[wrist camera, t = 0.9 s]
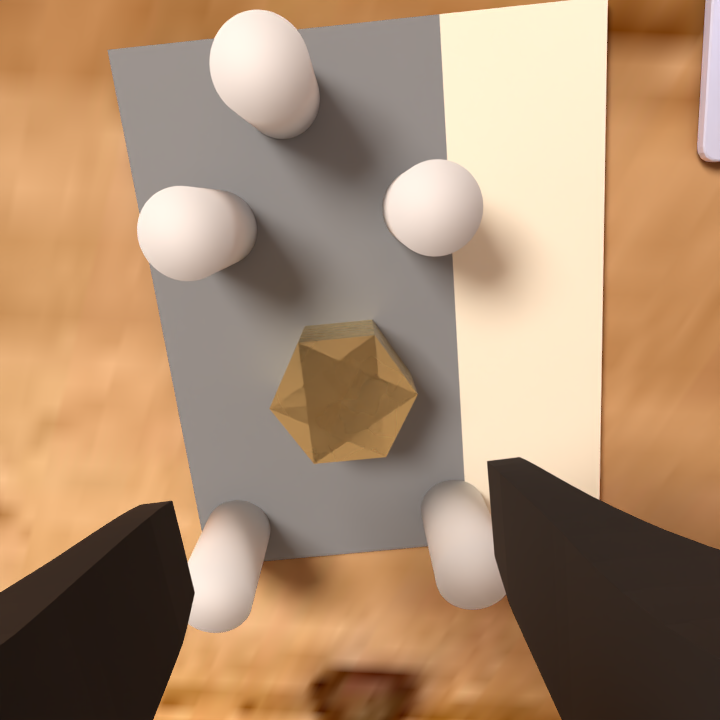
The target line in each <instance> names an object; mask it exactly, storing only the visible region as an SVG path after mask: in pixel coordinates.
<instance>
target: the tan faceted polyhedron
mask: <svg viewBox="0 0 720 720" xmlns="http://www.w3.org/2000/svg"><path fill="white" fill-rule="evenodd" d="M417 395H418V394H417V391H416V388H415V385H414V382H413V379H412V376H411V373H410V371H409V370H408V368H407V367H406V366H405V364H404V363H403V361H402V360H401V359H400V357H399V356H398V355H397V353H396V352H395V350H394V349H393V348H392V346H391V345H390V343H389V342H388V341H387V339H386V338H385V337H384V335H383V334H382V332H381V331H380V330H379V328H378V327H377V326H376V324H375V323H374V321H373V320H362V321H352V322H342V323H332V324H322V325H312V326H305V327H304V329H303V332H302V334H301V336H300V338H299V341H298V343H297V345H296V348H295V350H294V352H293V355H292V357H291V359H290V361H289V364H288V366H287V368H286V371H285V373H284V375H283V377H282V380H281V382H280V384H279V387H278V389H277V392H276V394H275V396H274V399H273V401H272V404H271V406H270V408H269V409H270V410H271V411H272V413H273V414H274V415H275V416H276V418H277V419H278V420H279V421H280V423H281V424H282V425H283V426H284V427H285V429H286V430H287V431H288V432H289V434H290V435H291V436H292V437H293V439H294V440H295V441H296V442H297V444H298V445H299V446H300V447H301V448H302V450H303V451H304V452H305V453H306V455H307V456H308V457H309V458H310V460H311V461H312V462H313V463H314V464H319V463H329V462H340V461H350V460H361V459H371V458H382V457H386V456H387V454H388V452H389V450H390V448H391V446H392V444H393V442H394V440H395V438H396V437H397V435H398V433H399V431H400V429H401V427H402V425H403V423H404V421H405V419H406V417H407V415H408V413H409V411H410V409H411V407H412V405H413V403H414V401H415V399H416V397H417Z"/></svg>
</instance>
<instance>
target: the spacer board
mask: <svg viewBox="0 0 720 720" xmlns="http://www.w3.org/2000/svg"><path fill="white" fill-rule="evenodd" d="M607 10H608V0H569V1H560V2H550V3H541V4H532V5H522V6H513V7H504V8H494V9H485V10H476V11H466V12H457V13H448V14H438V15H429V16H420V17H410V18H401V19H392V20H382V21H373V22H364V23H355V24H345V25H336V26H327V27H317V28H308V29H299V30H297V29H296V28H295V27H294V26H293V25H292V24H291V23H290V22H289V21H287V20H286V19H285V18H283V17H281V16H280V15H278V14H275V13H273V12H269V11H265V10H250V11H245V12H242V13H239V14H237V15H235V16H234V17H232V18H231V19H229V20H228V21H227V22H226V23H225V24H224V25H223V26H222V27H221V29H220V30H219V31H218V33H217V35H216V36H215V39H205V40H196V41H187V42H177V43H168V44H159V45H149V46H140V47H131V48H122V49H112V50H108V55H109V60H110V65H111V70H112V75H113V80H114V85H115V90H116V95H117V100H118V106H119V111H120V116H121V121H122V126H123V131H124V136H125V141H126V146H127V151H128V157H129V162H130V167H131V172H132V177H133V182H134V187H135V192H136V197H137V202H138V208H139V213H140V215H139V219H138V225H137V234H138V241H139V244H140V247H141V250H142V252H143V254H144V256H145V257H146V259H147V260H148V261H149V264H150V269H151V274H152V279H153V284H154V289H155V294H156V299H157V304H158V310H159V315H160V320H161V325H162V330H163V335H164V340H165V345H166V350H167V355H168V361H169V366H170V371H171V376H172V381H173V386H174V391H175V396H176V401H177V406H178V412H179V417H180V422H181V427H182V432H183V437H184V442H185V447H186V452H187V458H188V463H189V468H190V473H191V478H192V483H193V488H194V493H195V498H196V503H197V509H198V514H199V519H200V524H201V529H202V533H201V535H200V537H199V540H198V542H197V544H196V546H195V548H194V550H193V552H192V555H191V557H190V559H189V561H188V567H189V571H190V575H191V579H192V583H193V587H194V591H195V595H194V599H193V604H192V608H191V613H190V617H189V621H188V624H189V625H191V626H192V627H194V628H196V629H198V630H201V631H205V632H210V633H221V632H226V631H230V630H232V629H234V628H236V627H238V626H239V625H241V624H242V623H243V622H244V621H245V620H246V619H247V617H248V616H249V614H250V611H251V608H252V604H253V600H254V596H255V592H256V588H257V584H258V581H259V577H260V573H261V569H262V565H263V561H272V560H283V559H294V558H305V557H316V556H327V555H337V554H348V553H359V552H370V551H381V550H392V549H403V548H413V547H424V546H428V548H429V552H430V557H431V562H432V566H433V571H434V575H435V580H436V585H437V588H438V590H439V592H440V594H441V595H442V597H443V598H444V599H445V600H446V601H448V602H449V603H450V604H452V605H454V606H456V607H459V608H462V609H469V610H476V609H483V608H486V607H489V606H491V605H493V604H495V603H497V602H498V601H500V600H501V599H502V598H503V597H504V596H505V595H506V592H505V589H504V586H503V583H502V579H501V576H500V573H499V570H498V566H497V563H496V560H495V556H494V544H493V531H492V519H491V506H490V494H489V481H488V469H487V461H492V460H500V459H508V458H516V457H521V458H523V459H525V460H527V461H529V462H531V463H533V464H535V465H537V466H538V467H540V468H542V469H544V470H546V471H547V472H549V473H551V474H553V475H554V476H556V477H558V478H560V479H561V480H563V481H565V482H567V483H569V484H570V485H572V486H574V487H576V488H578V489H580V490H581V491H583V492H585V493H587V494H589V495H591V496H593V497H595V498H597V499H598V500H599V496H600V435H601V374H602V314H603V253H604V192H605V131H606V71H607ZM362 320H373V321H374V323H375V324H376V326H377V327H378V328H379V330H380V331H381V332H382V334H383V335H384V337H385V338H386V339H387V341H388V342H389V343H390V345H391V346H392V348H393V349H394V350H395V352H396V353H397V355H398V356H399V357H400V359H401V360H402V361H403V363H404V364H405V366H406V367H407V368H408V370H409V371H410V373H411V376H412V379H413V382H414V385H415V388H416V391H417V394H418V395H417V397H416V399H415V401H414V403H413V405H412V407H411V409H410V411H409V413H408V415H407V417H406V419H405V421H404V423H403V425H402V427H401V429H400V431H399V433H398V435H397V437H396V438H395V440H394V442H393V444H392V446H391V448H390V450H389V452H388V454H387V456H386V457H382V458H371V459H361V460H350V461H340V462H329V463H319V464H314V463H313V462H312V461H311V460H310V458H309V457H308V456H307V455H306V453H305V452H304V451H303V450H302V448H301V447H300V446H299V445H298V444H297V442H296V441H295V440H294V439H293V437H292V436H291V435H290V434H289V432H288V431H287V430H286V429H285V427H284V426H283V425H282V424H281V423H280V421H279V420H278V419H277V418H276V416H275V415H274V414H273V413H272V411H271V410H270V409H269V408H270V406H271V404H272V401H273V399H274V396H275V394H276V392H277V389H278V387H279V384H280V382H281V380H282V377H283V375H284V373H285V371H286V368H287V366H288V364H289V361H290V359H291V357H292V355H293V352H294V350H295V348H296V345H297V343H298V341H299V338H300V336H301V334H302V332H303V329H304V327H305V326H312V325H322V324H332V323H342V322H352V321H362Z"/></svg>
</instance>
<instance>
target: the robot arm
mask: <svg viewBox="0 0 720 720" xmlns="http://www.w3.org/2000/svg"><path fill="white" fill-rule="evenodd" d="M697 149H698V154H699V156H700V157H701V159H703V160H704V161H706V162H718V161H720V0H706V3H705V21H704V38H703V56H702V73H701V91H700V108H699V125H698V143H697ZM487 469H488V481H489V494H490V506H491V519H492V531H493V544H494V556H495V560H496V563H497V566H498V570H499V573H500V576H501V579H502V583H503V586H504V589H505V592H506V595H507V598H508V601H509V604H510V607H511V609H512V611H513V614H514V616H515V618H516V620H517V622H518V625H519V627H520V629H521V631H522V634H523V636H524V638H525V640H526V642H527V645H528V647H529V649H530V651H531V653H532V655H533V658H534V660H535V662H536V664H537V666H538V669H539V671H540V673H541V675H542V677H543V679H544V682H545V684H546V686H547V688H548V690H549V693H550V695H551V697H552V699H553V701H554V704H555V706H556V708H557V710H558V712H559V714H560V717H561V719H562V720H720V550H719V549H715V548H712V547H709V546H706V545H704V544H701V543H698V542H696V541H693V540H690V539H688V538H685V537H682V536H680V535H677V534H674V533H672V532H669V531H666V530H664V529H661V528H659V527H657V526H654V525H652V524H649V523H647V522H645V521H643V520H640V519H638V518H636V517H634V516H632V515H630V514H627V513H625V512H623V511H621V510H619V509H617V508H614V507H612V506H610V505H608V504H606V503H604V502H602V501H600V500H598V499H597V498H595V497H593V496H591V495H589V494H587V493H585V492H583V491H581V490H580V489H578V488H576V487H574V486H572V485H570V484H569V483H567V482H565V481H563V480H561V479H560V478H558V477H556V476H554V475H553V474H551V473H549V472H547V471H546V470H544V469H542V468H540V467H538V466H537V465H535V464H533V463H531V462H529V461H527V460H525V459H523V458H521V457H516V458H508V459H500V460H492V461H487ZM194 595H195V591H194V587H193V583H192V579H191V575H190V571H189V567H188V563H187V558H186V554H185V550H184V546H183V542H182V538H181V534H180V530H179V526H178V522H177V518H176V514H175V510H174V506H173V502H172V501H167V502H159V503H151V504H143V505H139V506H137V507H135V508H133V509H131V510H129V511H127V512H126V513H124V514H122V515H121V516H119V517H117V518H116V519H114V520H112V521H111V522H109V523H108V524H106V525H105V526H103V527H102V528H100V529H99V530H97V531H96V532H94V533H92V534H91V535H89V536H88V537H86V538H85V539H83V540H82V541H80V542H79V543H77V544H76V545H74V546H73V547H71V548H70V549H68V550H67V551H65V552H64V553H62V554H61V555H59V556H58V557H56V558H55V559H53V560H52V561H50V562H49V563H47V564H45V565H44V566H42V567H41V568H39V569H37V570H36V571H34V572H33V573H31V574H29V575H28V576H26V577H24V578H23V579H21V580H20V581H18V582H16V583H15V584H13V585H12V586H10V587H8V588H7V589H5V590H4V591H2V592H0V720H153V719H154V716H155V714H156V711H157V708H158V706H159V703H160V701H161V698H162V696H163V693H164V691H165V688H166V686H167V683H168V681H169V678H170V676H171V673H172V670H173V668H174V665H175V663H176V660H177V657H178V655H179V652H180V649H181V647H182V644H183V641H184V637H185V633H186V629H187V625H188V621H189V617H190V613H191V608H192V604H193V599H194Z"/></svg>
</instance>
